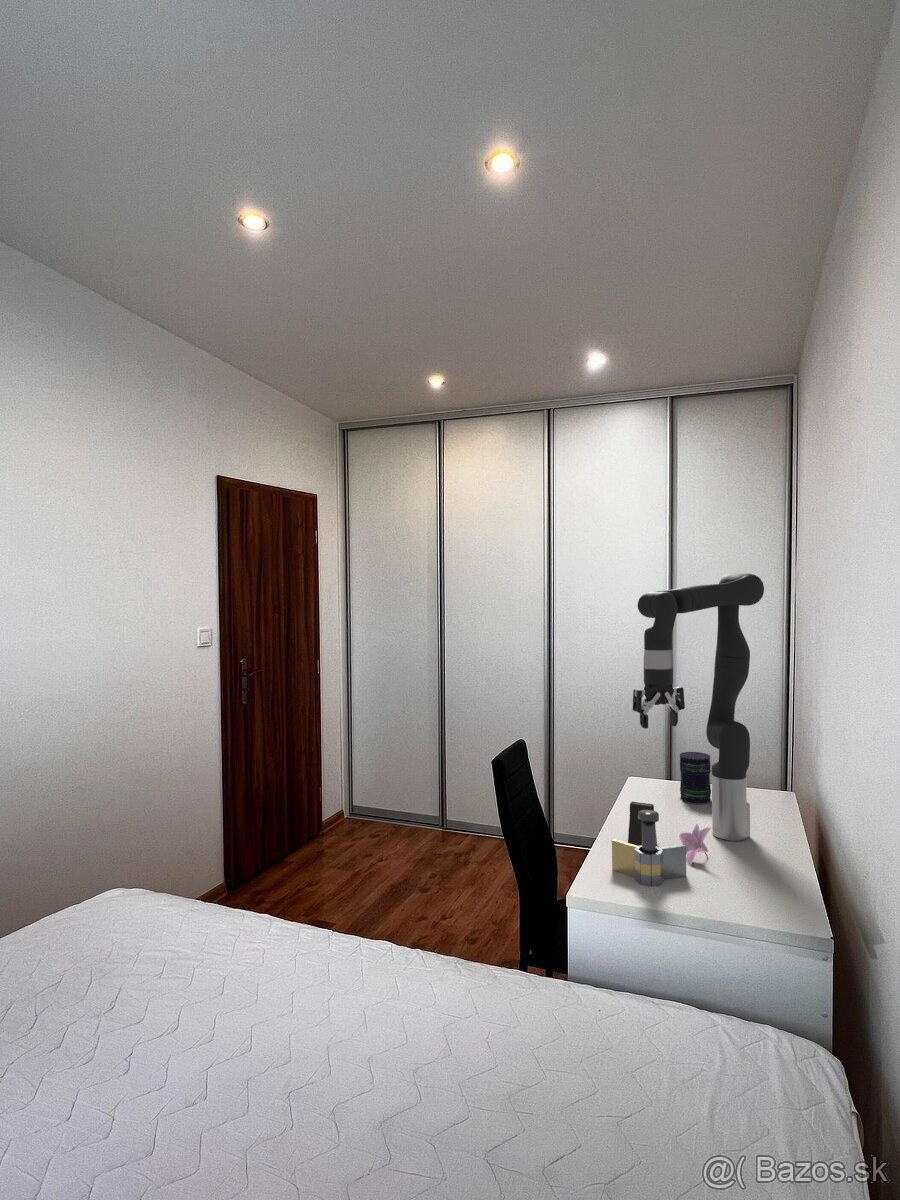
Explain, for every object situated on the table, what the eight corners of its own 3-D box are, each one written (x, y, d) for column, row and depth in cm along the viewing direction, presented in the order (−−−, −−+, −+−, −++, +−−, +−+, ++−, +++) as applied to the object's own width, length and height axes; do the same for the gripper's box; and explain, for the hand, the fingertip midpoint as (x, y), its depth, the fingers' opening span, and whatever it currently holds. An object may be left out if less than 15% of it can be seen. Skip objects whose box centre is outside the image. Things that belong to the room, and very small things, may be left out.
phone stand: (649, 854, 181) (648, 809, 181) (627, 850, 184) (626, 806, 184) (657, 843, 189) (656, 800, 189) (635, 839, 192) (635, 797, 192)
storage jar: (707, 805, 220) (706, 760, 220) (676, 801, 226) (676, 756, 226) (714, 797, 229) (713, 753, 228) (684, 793, 234) (683, 750, 234)
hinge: (664, 861, 176) (664, 833, 175) (692, 880, 164) (692, 849, 164) (611, 868, 172) (610, 839, 172) (635, 888, 160) (635, 857, 160)
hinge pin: (652, 875, 167) (651, 809, 167) (663, 883, 163) (662, 815, 163) (635, 877, 166) (634, 810, 166) (645, 885, 161) (644, 817, 161)
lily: (680, 852, 184) (667, 826, 183) (719, 840, 181) (706, 814, 179) (686, 880, 174) (672, 854, 172) (728, 868, 171) (714, 841, 169)
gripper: (673, 663, 186) (674, 722, 186) (627, 666, 182) (628, 726, 182) (689, 666, 179) (690, 727, 179) (641, 669, 175) (642, 731, 175)
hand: (659, 726), depth 181 cm, fingers open, 8 cm apart
